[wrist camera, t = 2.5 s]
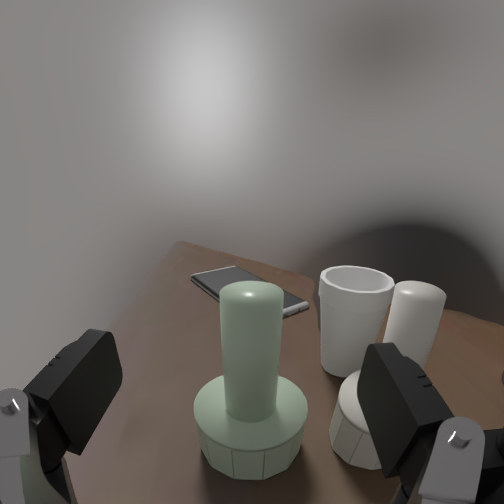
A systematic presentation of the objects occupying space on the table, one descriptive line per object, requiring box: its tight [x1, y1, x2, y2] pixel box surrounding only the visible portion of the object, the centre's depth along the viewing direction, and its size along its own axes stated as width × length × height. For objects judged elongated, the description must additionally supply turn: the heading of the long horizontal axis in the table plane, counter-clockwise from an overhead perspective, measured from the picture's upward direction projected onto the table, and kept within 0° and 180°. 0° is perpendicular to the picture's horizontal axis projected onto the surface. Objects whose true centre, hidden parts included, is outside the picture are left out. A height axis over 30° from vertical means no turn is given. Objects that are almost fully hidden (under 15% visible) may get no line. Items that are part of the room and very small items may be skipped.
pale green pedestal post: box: [194, 281, 308, 480], centre depth 22 cm, size 10×10×17 cm
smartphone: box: [191, 266, 308, 318], centre depth 62 cm, size 13×27×2 cm, turn 35°
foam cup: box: [319, 266, 395, 377], centre depth 35 cm, size 10×9×13 cm
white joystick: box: [328, 281, 446, 470], centre depth 22 cm, size 10×10×17 cm
